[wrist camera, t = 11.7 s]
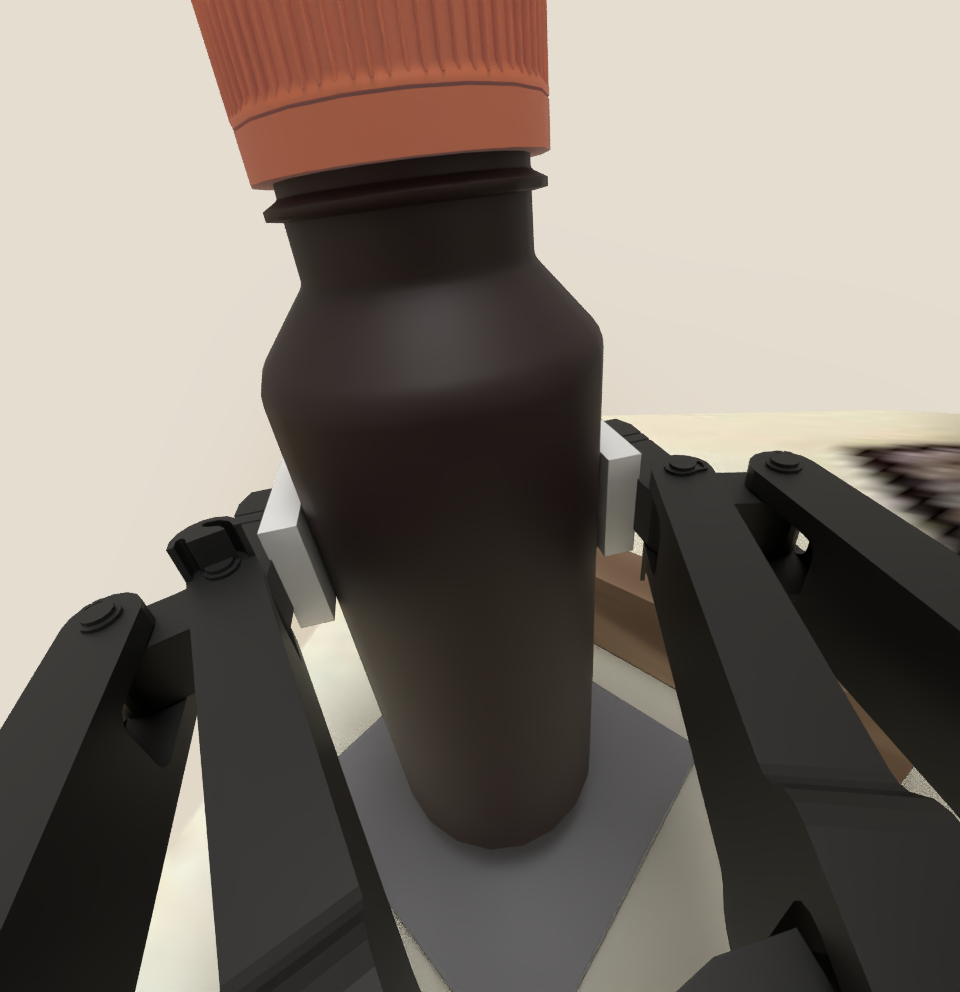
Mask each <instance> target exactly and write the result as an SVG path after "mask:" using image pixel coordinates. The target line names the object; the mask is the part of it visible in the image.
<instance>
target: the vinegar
mask: <svg viewBox="0 0 960 992" xmlns="http://www.w3.org/2000/svg"><path fill="white" fill-rule="evenodd" d="M191 2H192V5H193V8H194V11H195V14H196V18H197V21H198V24H199V27H200V30H201V33H202V36H203V40H204V43H205V46H206V49H207V52H208V56H209V59H210V62H211V65H212V68H213V71H214V75H215V78H216V81H217V84H218V87H219V90H220V94H221V97H222V100H223V103H224V106H225V109H226V113H227V116H228V119H229V122H230V124H231V126H232V128H233V130H234V134H235V137H236V140H237V144H238V147H239V150H240V153H241V156H242V159H243V163H244V166H245V169H246V172H247V175H248V178H249V182H250V185H251V187H252V189H258V190H274V191H275V195H276V198H277V200H276V202H275V203H274V204H273V205H272V206H270V207H269V208H268V209H267V210H266V211H264V212H263V215H264V218H265V221H266V223H284V225H285V229H286V232H287V236H288V239H289V242H290V246H291V249H292V253H293V256H294V259H295V263H296V266H297V270H298V273H299V276H300V280H301V288H300V291H299V293H298V295H297V297H296V299H295V301H294V303H293V305H292V307H291V309H290V311H289V313H288V315H287V317H286V319H285V321H284V323H283V326H282V327H281V329H280V332H279V334H278V336H277V338H276V340H275V342H274V344H273V346H272V348H271V350H270V352H269V354H268V356H267V358H266V361H265V363H264V367H263V371H262V385H261V397H262V402H263V406H264V409H265V412H266V414H267V417H268V419H269V422H270V425H271V427H272V430H273V432H274V435H275V438H276V440H277V442H278V445H279V448H280V451H281V453H282V456H283V458H284V461H285V464H286V466H287V469H288V471H289V474H290V477H291V479H292V482H293V484H294V487H295V490H296V492H297V495H298V497H299V500H300V503H301V505H302V508H303V510H304V513H305V516H306V518H307V521H308V523H309V526H310V529H311V531H312V534H313V536H314V539H315V542H316V544H317V547H318V549H319V552H320V555H321V557H322V560H323V562H324V565H325V568H326V570H327V573H328V575H329V578H330V581H331V583H332V586H333V588H334V591H335V594H336V596H337V599H338V601H339V604H340V607H341V609H342V612H343V614H344V617H345V620H346V622H347V625H348V627H349V630H350V633H351V635H352V638H353V640H354V643H355V646H356V648H357V651H358V653H359V656H360V659H361V661H362V664H363V666H364V669H365V672H366V674H367V677H368V679H369V682H370V685H371V687H372V690H373V692H374V695H375V698H376V700H377V703H378V705H379V708H380V711H381V713H382V716H383V718H384V721H385V724H386V726H387V729H388V731H389V734H390V737H391V739H392V742H393V744H394V747H395V750H396V752H397V755H398V757H399V760H400V763H401V765H402V768H403V770H404V773H405V776H406V778H407V781H408V783H409V786H410V789H411V791H412V794H413V796H414V797H415V799H416V800H417V802H418V803H419V805H420V807H421V808H422V810H423V811H424V813H425V814H426V816H427V817H428V819H429V820H430V821H431V822H432V823H433V824H435V825H436V826H437V827H439V828H440V829H442V830H443V831H444V832H446V833H447V834H448V835H450V836H451V837H453V838H454V839H455V840H457V841H459V842H463V843H466V844H470V845H474V846H478V847H482V848H485V849H489V850H492V849H500V848H509V847H518V846H524V845H525V844H527V843H529V842H531V841H533V840H535V839H537V838H539V837H541V836H543V835H545V834H547V833H548V832H550V831H552V830H553V829H554V828H555V827H556V826H557V825H558V824H559V823H560V821H561V820H562V819H563V818H564V817H565V816H566V815H567V814H568V813H569V811H570V810H571V809H572V808H573V807H574V806H575V805H576V803H577V800H578V798H579V795H580V793H581V791H582V788H583V786H584V783H585V781H586V779H587V776H588V770H589V754H590V733H591V704H592V674H593V644H594V614H595V585H596V555H597V525H598V495H599V466H600V436H601V406H602V405H601V403H602V375H603V338H602V334H601V331H600V328H599V326H598V325H597V323H596V322H595V321H594V319H593V318H592V317H591V315H590V314H589V313H588V312H587V311H586V310H585V309H584V308H583V307H582V306H581V305H580V304H579V303H578V302H577V300H576V299H575V298H574V297H573V296H572V295H571V294H570V293H569V292H568V291H567V290H566V289H565V288H564V287H563V286H562V284H561V283H560V282H559V281H558V280H557V279H556V278H555V277H554V276H553V275H552V274H551V273H550V272H549V271H548V270H547V269H546V268H545V266H544V265H543V264H542V263H541V262H540V261H539V260H538V259H537V257H536V255H535V252H534V240H533V239H534V237H533V213H532V190H535V189H539V188H542V187H546V186H548V177H547V176H546V175H544V174H541V173H539V172H537V171H535V170H533V169H532V168H531V165H530V157H533V156H537V155H540V154H543V153H545V152H547V151H549V150H550V116H549V98H548V96H549V86H548V49H547V9H546V8H547V5H546V0H191Z"/></svg>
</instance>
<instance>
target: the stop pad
mask: <svg viewBox="0 0 960 992" xmlns="http://www.w3.org/2000/svg"><path fill="white" fill-rule="evenodd" d="M338 759H339V762H340V765H341V768H342V770H343V773H344V776H345V779H346V782H347V785H348V788H349V790H350V793H351V796H352V799H353V802H354V805H355V808H356V810H357V813H358V816H359V819H360V822H361V825H362V828H363V831H364V833H365V836H366V839H367V842H368V845H369V848H370V851H371V853H372V856H373V859H374V862H375V865H376V868H377V871H378V874H379V876H380V879H381V882H382V885H383V888H384V891H385V894H386V896H387V899H388V902H389V904H390V906H391V907H392V909H393V910H394V911H395V913H396V914H397V915H398V917H399V918H400V920H401V921H402V922H403V924H404V925H405V927H406V928H407V929H408V931H409V932H410V933H411V935H412V936H413V938H414V939H415V940H416V942H417V943H418V945H419V946H420V947H421V949H422V950H423V951H424V953H425V954H426V956H427V957H428V958H429V960H430V961H431V963H432V964H433V965H434V967H435V968H436V969H437V971H438V972H439V974H440V975H441V976H442V978H443V979H444V981H445V982H446V983H447V985H448V986H449V987H450V989H451V990H452V992H576V991H577V989H578V987H579V985H580V983H581V981H582V980H583V978H584V976H585V974H586V972H587V970H588V968H589V966H590V964H591V962H592V960H593V958H594V956H595V954H596V952H597V950H598V948H599V946H600V944H601V943H602V941H603V939H604V937H605V935H606V933H607V931H608V929H609V927H610V925H611V923H612V921H613V919H614V917H615V915H616V913H617V911H618V909H619V908H620V906H621V904H622V902H623V900H624V898H625V896H626V894H627V892H628V890H629V888H630V886H631V884H632V882H633V880H634V878H635V876H636V874H637V873H638V871H639V869H640V867H641V865H642V863H643V861H644V859H645V857H646V855H647V853H648V851H649V849H650V847H651V845H652V843H653V841H654V839H655V838H656V836H657V834H658V832H659V830H660V828H661V826H662V824H663V822H664V820H665V818H666V816H667V814H668V812H669V810H670V808H671V806H672V804H673V802H674V801H675V799H676V797H677V795H678V793H679V791H680V789H681V787H682V785H683V783H684V781H685V779H686V777H687V775H688V773H689V771H690V769H691V767H692V766H693V764H694V759H693V755H692V751H691V748H690V744H689V741H687V740H686V739H684V738H683V737H681V736H679V735H678V734H676V733H675V732H673V731H671V730H670V729H668V728H666V727H665V726H663V725H662V724H660V723H658V722H657V721H655V720H654V719H652V718H650V717H649V716H647V715H646V714H644V713H642V712H641V711H639V710H637V709H636V708H634V707H633V706H631V705H629V704H628V703H626V702H625V701H623V700H621V699H620V698H618V697H617V696H615V695H613V694H612V693H610V692H609V691H607V690H605V689H604V688H602V687H600V686H599V685H597V684H596V683H594V682H592V704H591V733H590V754H589V770H588V776H587V779H586V781H585V783H584V786H583V788H582V791H581V793H580V795H579V798H578V800H577V803H576V805H575V806H574V807H573V808H572V809H571V810H570V811H569V813H568V814H567V815H566V816H565V817H564V818H563V819H562V820H561V821H560V823H559V824H558V825H557V826H556V827H555V828H554V829H553V830H552V831H550V832H548V833H547V834H545V835H543V836H541V837H539V838H537V839H535V840H533V841H531V842H529V843H527V844H525V845H524V846H518V847H509V848H500V849H492V850H489V849H485V848H482V847H478V846H474V845H470V844H466V843H463V842H459V841H457V840H455V839H454V838H453V837H451V836H450V835H448V834H447V833H446V832H444V831H443V830H442V829H440V828H439V827H437V826H436V825H435V824H433V823H432V822H431V821H430V820H429V819H428V817H427V816H426V814H425V813H424V811H423V810H422V808H421V807H420V805H419V803H418V802H417V800H416V799H415V797H414V796H413V794H412V791H411V789H410V786H409V783H408V781H407V778H406V776H405V773H404V770H403V768H402V765H401V763H400V760H399V757H398V755H397V752H396V750H395V747H394V744H393V742H392V739H391V737H390V734H389V731H388V729H387V726H386V724H385V721H384V718H383V716H382V717H381V718H380V719H378V720H377V721H376V722H375V723H374V724H373V725H372V726H371V727H370V728H369V729H368V730H367V731H365V732H364V733H363V734H362V735H361V736H360V737H359V738H358V739H357V740H356V741H355V742H354V743H352V744H351V745H350V746H349V747H348V748H347V749H346V750H345V751H344V752H343V753H342V754H341V755H339V756H338Z"/></svg>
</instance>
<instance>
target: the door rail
mask: <svg viewBox="0 0 960 992" xmlns="http://www.w3.org/2000/svg"><path fill="white" fill-rule="evenodd" d="M641 564H642V557H641V556H639V555H636V554H634V553H632V552H629V551H627V552H623V553H618V554H614V555H610V556H606V557H604V555H603V554H602V552H601V551H600V550H599V548H598V547H597V555H596V585H595V614H594V643H595V644H596V645H598V646H600V647H602V648H604V649H605V650H607V651H609V652H611V653H612V654H614V655H616V656H618V657H620V658H621V659H623V660H625V661H627V662H628V663H630V664H632V665H634V666H636V667H637V668H639V669H641V670H643V671H644V672H646V673H648V674H650V675H652V676H653V677H655V678H657V679H659V680H660V681H662V682H664V683H666V684H668V685H669V686H671V687H673V688H675V684H674V680H673V676H672V672H671V668H670V664H669V660H668V657H667V653H666V649H665V645H664V641H663V637H662V633H661V629H660V625H659V621H658V617H657V613H656V609H655V605H654V601H653V597H652V593H651V589H650V585H649V581H648V577H647V573H646V574H645V581H640V574H641ZM837 681H838V680H837ZM838 682H839V681H838ZM839 684H840V686H841V687H842V689H843V691H844V693H845V694H846V696H847V698H848V699H849V701H850V703H851V704H852V706H853V708H854V710H855V711H856V713H857V715H858V716H859V718H860V720H861V722H862V723H863V725H864V727H865V728H866V730H867V732H868V733H869V735H870V737H871V739H872V740H873V742H874V744H875V745H876V747H877V749H878V751H879V752H880V754H881V756H882V757H883V759H884V761H885V762H886V764H887V766H888V768H889V769H890V771H891V773H892V774H893V775H894V777H895V778H896V779H897V781H898V782H899V784H901V783H902V781H903V780H904V779H905V777H906V776H907V775H908V773H909V772H910V771H911V770H912V768H913V767H914V766H913V765H912V764H911V762H910V761H909V760H908V759H907V758H906V757H905V756H904V755H903V753H902V752H901V751H900V750H899V749H898V748H897V747H896V746H895V744H894V743H893V742H892V741H891V740H890V739H889V738H888V736H887V735H886V734H885V733H884V732H883V731H882V730H881V729H880V727H879V726H878V725H877V724H876V723H875V722H874V721H873V720H872V718H871V717H870V716H869V715H868V714H867V713H866V712H865V711H864V709H863V708H862V707H861V706H860V705H859V704H858V703H857V702H856V700H855V699H854V698H853V697H852V696H851V695H850V694H849V692H848V691H847V690H846V689H845V688H844V687H843V686H842V685H841V683H840V682H839ZM675 689H676V688H675Z"/></svg>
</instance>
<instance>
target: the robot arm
mask: <svg viewBox="0 0 960 992" xmlns="http://www.w3.org/2000/svg"><path fill="white" fill-rule="evenodd" d="M635 532H636V533H637V534H638V535H639V536H640V537H641V539H642V540H643V541H644V544H643V554H642V564H641V574H640V581H645V574H646V573H647V577H648V581H649V585H650V589H651V593H652V597H653V601H654V605H655V609H656V613H657V617H658V621H659V625H660V629H661V633H662V637H663V641H664V645H665V649H666V653H667V657H668V660H669V664H670V668H671V672H672V676H673V680H674V684H675V688H676V692H677V696H678V700H679V704H680V708H681V712H682V716H683V720H684V724H685V728H686V732H687V736H688V740H689V744H690V748H691V751H692V755H693V759H694V763H695V767H696V771H697V775H698V779H699V783H700V787H701V791H702V795H703V799H704V803H705V807H706V811H707V815H708V819H709V823H710V827H711V831H712V835H713V838H714V842H715V846H716V850H717V854H718V858H719V863H720V867H721V873H722V880H723V901H724V915H725V923H726V930H727V935H728V940H729V944H730V949H731V951H730V952H727V953H724V954H721V955H718V956H716V957H713V958H712V959H711V960H710V961H709V962H708V963H707V964H706V965H705V966H704V967H702V968H701V969H700V970H699V971H698V972H697V973H696V974H695V975H694V976H693V977H692V978H691V979H689V980H688V981H687V982H686V983H685V984H684V985H683V986H682V987H681V988H680V989H679V990H678V991H676V992H960V822H959V821H958V819H957V818H956V817H955V816H954V814H953V813H951V812H950V811H949V810H948V809H946V808H945V807H944V806H943V805H941V804H940V803H939V802H937V801H936V800H935V799H933V798H929V797H926V796H922V795H919V794H915V793H912V792H909V791H908V790H907V789H905V788H904V787H903V786H902V785H901V784H899V782H898V781H897V779H896V778H895V777H894V775H893V774H892V773H891V771H890V769H889V768H888V766H887V764H886V762H885V761H884V759H883V757H882V756H881V754H880V752H879V751H878V749H877V747H876V745H875V744H874V742H873V740H872V739H871V737H870V735H869V733H868V732H867V730H866V728H865V727H864V725H863V723H862V722H861V720H860V718H859V716H858V715H857V713H856V711H855V710H854V708H853V706H852V704H851V703H850V701H849V699H848V698H847V696H846V694H845V693H844V691H843V689H842V687H841V686H840V684H839V682H840V683H841V685H842V686H843V687H844V688H845V689H846V690H847V691H848V692H849V694H850V695H851V696H852V697H853V698H854V699H855V700H856V702H857V703H858V704H859V705H860V706H861V707H862V708H863V709H864V711H865V712H866V713H867V714H868V715H869V716H870V717H871V718H872V720H873V721H874V722H875V723H876V724H877V725H878V726H879V727H880V729H881V730H882V731H883V732H884V733H885V734H886V735H887V736H888V738H889V739H890V740H891V741H892V742H893V743H894V744H895V746H896V747H897V748H898V749H899V750H900V751H901V752H902V753H903V755H904V756H905V757H906V758H907V759H908V760H909V761H910V762H911V764H912V765H913V766H914V767H915V768H916V769H917V770H918V771H919V773H920V774H921V775H922V776H923V777H924V778H925V779H926V781H927V782H928V783H929V784H930V785H931V786H932V787H933V788H934V790H935V791H936V792H937V793H938V794H939V795H940V796H941V797H942V799H943V800H944V801H945V802H946V803H947V804H948V805H949V806H950V808H951V809H952V810H953V811H954V812H955V813H956V814H957V816H958V817H959V818H960V556H959V555H957V554H956V553H954V552H953V551H951V550H950V549H948V548H947V547H945V546H944V545H942V544H940V543H939V542H937V541H936V540H934V539H933V538H931V537H930V536H928V535H926V534H925V533H923V532H922V531H920V530H919V529H917V528H916V527H914V526H913V525H911V524H909V523H908V522H906V521H905V520H903V519H902V518H900V517H899V516H897V515H895V514H894V513H892V512H891V511H889V510H888V509H886V508H885V507H883V506H882V505H880V504H878V503H877V502H875V501H874V500H872V499H871V498H869V497H868V496H866V495H864V494H863V493H861V492H860V491H858V490H857V489H855V488H854V487H852V486H850V485H849V484H847V483H846V482H844V481H843V480H841V479H840V478H838V477H837V476H835V475H833V474H832V473H830V472H829V471H827V470H826V469H824V468H823V467H821V466H819V465H818V464H816V463H815V462H813V461H812V460H809V459H807V458H805V457H803V456H800V455H797V454H793V453H791V452H787V451H784V452H782V451H772V452H762V453H759V454H755V455H754V456H753V457H752V458H750V461H749V465H748V469H747V472H736V473H715V471H714V469H713V468H712V467H711V466H710V465H709V464H708V463H707V462H705V461H703V460H701V459H699V458H695V457H691V456H685V455H669V454H668V453H667V452H665V451H664V450H663V449H662V448H660V447H659V446H658V445H657V444H655V443H654V442H653V441H651V440H649V438H648V437H646V436H645V435H644V434H643V433H642V434H641V432H640V431H639V430H638V429H636V428H635V427H634V426H632V425H631V424H629V423H626V422H623V421H620V420H618V419H612V420H607V421H603V420H602V419H601V436H600V466H599V495H598V525H597V547H598V548H599V550H600V551H601V552H602V554H603V555H604V557H606V556H610V555H614V554H618V553H623V552H627V551H631V550H633V544H634V533H635ZM799 532H801V533H802V534H803V535H804V536H805V537H806V538H807V539H808V540H809V545H808V548H807V550H806V551H803V550H802V549H800V548H799V547H798V546H797V545H796V541H797V538H798V535H799ZM166 551H167V553H168V554H169V556H170V557H171V559H172V561H173V562H174V564H175V565H176V567H177V569H178V570H179V572H180V574H181V575H182V577H183V578H184V580H185V582H186V585H187V586H186V587H187V589H185V590H183V591H181V592H179V593H177V594H175V595H172V596H170V597H167V598H165V599H162V600H160V601H157V602H155V603H153V604H150V605H148V606H146V605H145V603H144V602H143V600H142V599H141V598H140V597H139V596H138V595H137V594H134V593H127V592H126V593H120V594H114V595H111V596H108V597H105V598H102V599H99V600H97V601H94V602H93V603H92V604H89V605H87V606H85V607H84V608H83V609H82V610H80V611H79V612H78V613H77V614H75V615H74V616H73V617H72V618H70V619H69V620H68V622H67V623H66V624H65V625H64V626H63V628H62V629H61V630H60V632H59V633H58V635H57V637H56V639H55V640H54V642H53V643H52V645H51V647H50V648H49V650H48V652H47V653H46V655H45V657H44V658H43V660H42V661H41V663H40V665H39V666H38V668H37V670H36V672H35V673H34V675H33V677H32V678H31V680H30V681H29V683H28V685H27V686H26V688H25V690H24V691H23V693H22V695H21V696H20V698H19V700H18V701H17V703H16V704H15V706H14V708H13V709H12V711H11V713H10V714H9V716H8V718H7V719H6V721H5V723H4V724H3V726H2V728H1V729H0V992H135V989H136V985H137V980H138V976H139V971H140V967H141V962H142V958H143V953H144V949H145V944H146V940H147V935H148V931H149V927H150V922H151V918H152V913H153V909H154V904H155V900H156V895H157V891H158V886H159V882H160V878H161V873H162V869H163V864H164V860H165V855H166V851H167V846H168V842H169V837H170V833H171V828H172V824H173V820H174V815H175V811H176V806H177V802H178V797H179V793H180V788H181V784H182V779H183V775H184V771H185V766H186V761H187V757H188V753H189V748H190V744H191V739H192V735H193V730H194V726H195V721H196V717H197V719H198V731H199V743H200V754H201V767H202V779H203V789H204V790H203V791H204V803H205V815H206V826H207V839H208V850H209V862H210V874H211V886H212V898H213V910H214V922H215V934H216V946H217V958H218V970H219V982H220V992H421V991H420V988H419V986H418V984H417V981H416V978H415V976H414V973H413V971H412V968H411V965H410V962H409V959H408V957H407V954H406V951H405V948H404V945H403V942H402V939H401V937H400V934H399V931H398V928H397V925H396V922H395V919H394V916H393V914H392V911H391V908H390V905H389V902H388V899H387V896H386V894H385V891H384V888H383V885H382V882H381V879H380V876H379V874H378V871H377V868H376V865H375V862H374V859H373V856H372V853H371V851H370V848H369V845H368V842H367V839H366V836H365V833H364V831H363V828H362V825H361V822H360V819H359V816H358V813H357V810H356V808H355V805H354V802H353V799H352V796H351V793H350V790H349V788H348V785H347V782H346V779H345V776H344V773H343V770H342V768H341V765H340V762H339V759H338V756H337V753H336V750H335V747H334V745H333V742H332V739H331V736H330V733H329V730H328V727H327V725H326V722H325V719H324V716H323V713H322V710H321V707H320V704H319V702H318V699H317V696H316V693H315V690H314V687H313V684H312V682H311V679H310V676H309V673H308V670H307V667H306V664H305V662H304V659H303V656H302V653H301V650H300V647H299V644H298V641H297V639H296V637H295V635H294V633H293V631H292V629H291V622H292V617H293V612H294V614H295V616H296V618H297V620H298V623H299V625H300V627H301V628H304V627H308V626H313V625H317V624H321V623H325V622H330V621H334V620H335V606H336V594H335V591H334V588H333V586H332V583H331V581H330V578H329V575H328V573H327V570H326V568H325V565H324V562H323V560H322V557H321V555H320V552H319V549H318V547H317V544H316V542H315V539H314V536H313V534H312V531H311V529H310V526H309V523H308V521H307V518H306V516H305V513H304V510H303V508H302V505H301V503H300V500H299V497H298V495H297V492H296V490H295V487H294V484H293V482H292V479H291V477H290V474H289V471H288V469H287V466H286V464H285V461H284V458H282V460H281V463H280V466H279V469H278V472H277V476H276V478H275V482H274V485H273V488H272V489H267V490H262V491H257V492H252V493H251V494H250V495H248V496H247V497H246V498H245V499H244V500H243V501H242V502H241V503H240V504H239V506H238V509H237V511H236V513H235V518H232V517H228V516H225V517H214V518H210V519H207V520H203V521H200V522H198V523H196V524H194V525H191V526H189V527H187V528H186V529H184V530H183V531H181V532H180V533H178V534H177V535H176V536H175V537H174V538H173V539H172V540H171V541H170V542H169V544H168V547H167V550H166ZM837 680H838V681H839V682H838V681H837Z"/></svg>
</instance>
